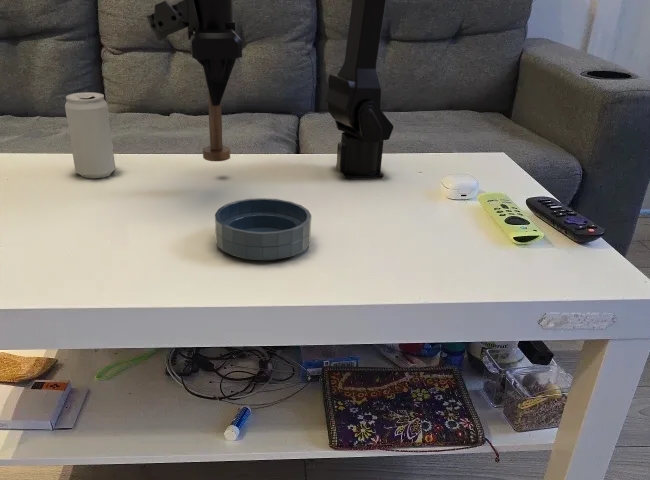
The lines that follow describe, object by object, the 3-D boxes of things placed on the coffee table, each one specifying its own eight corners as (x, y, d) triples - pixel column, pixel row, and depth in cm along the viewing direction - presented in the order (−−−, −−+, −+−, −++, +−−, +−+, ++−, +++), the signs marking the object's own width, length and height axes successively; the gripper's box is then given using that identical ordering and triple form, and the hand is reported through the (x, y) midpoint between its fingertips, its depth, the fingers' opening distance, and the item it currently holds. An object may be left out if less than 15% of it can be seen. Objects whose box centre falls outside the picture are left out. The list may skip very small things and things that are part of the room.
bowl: (300, 224, 92) (301, 196, 89) (318, 261, 82) (319, 230, 79) (212, 229, 90) (211, 200, 88) (220, 267, 80) (219, 235, 78)
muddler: (229, 153, 100) (227, 72, 94) (231, 161, 97) (229, 78, 91) (202, 153, 100) (198, 73, 93) (203, 161, 97) (199, 78, 90)
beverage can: (87, 182, 105) (75, 102, 98) (68, 172, 109) (55, 94, 102) (123, 174, 108) (114, 96, 102) (103, 165, 112) (93, 89, 106)
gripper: (147, -30, 92) (157, 90, 101) (145, -20, 77) (157, 121, 86) (228, -30, 93) (231, 89, 102) (241, -19, 78) (243, 119, 87)
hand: (215, 103), depth 94 cm, fingers closed on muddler, 2 cm apart
